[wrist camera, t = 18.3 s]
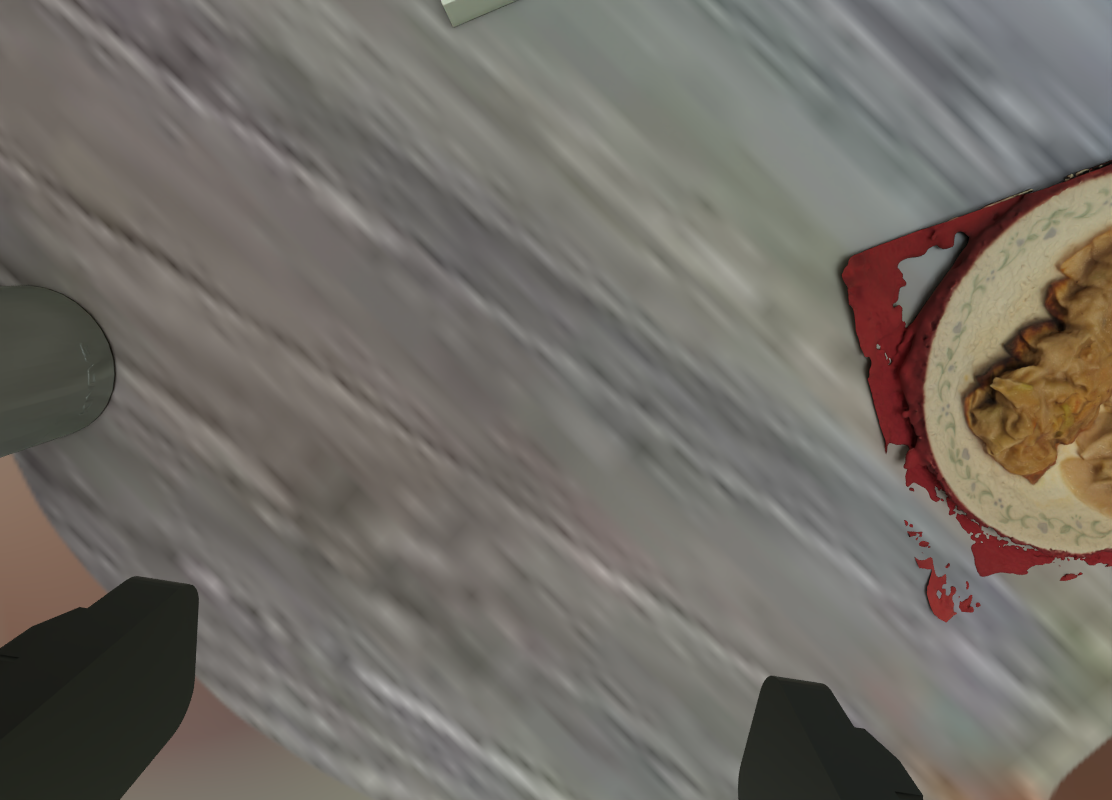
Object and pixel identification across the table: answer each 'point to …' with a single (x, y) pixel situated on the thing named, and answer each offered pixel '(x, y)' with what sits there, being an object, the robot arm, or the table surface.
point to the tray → (470, 9)
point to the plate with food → (1004, 374)
